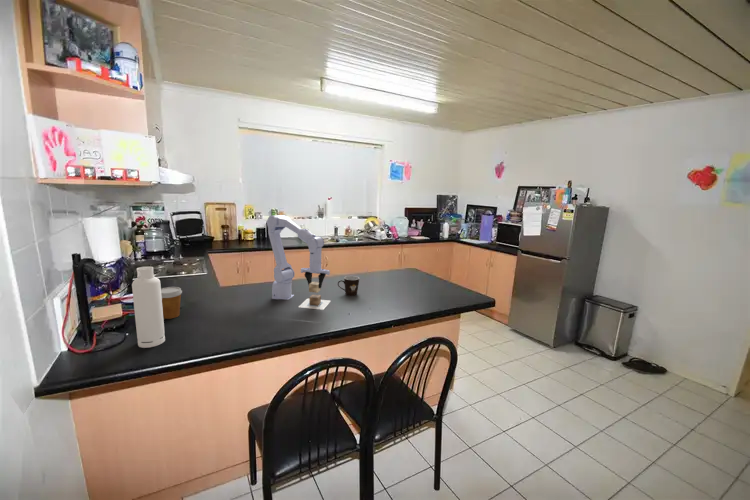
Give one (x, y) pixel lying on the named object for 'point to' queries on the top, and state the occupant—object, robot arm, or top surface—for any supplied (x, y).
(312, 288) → the maple block
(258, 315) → the top surface
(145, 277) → the bottle
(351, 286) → the coffee mug
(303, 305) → the board
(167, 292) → the disposable coffee cup
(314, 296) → the walnut block
